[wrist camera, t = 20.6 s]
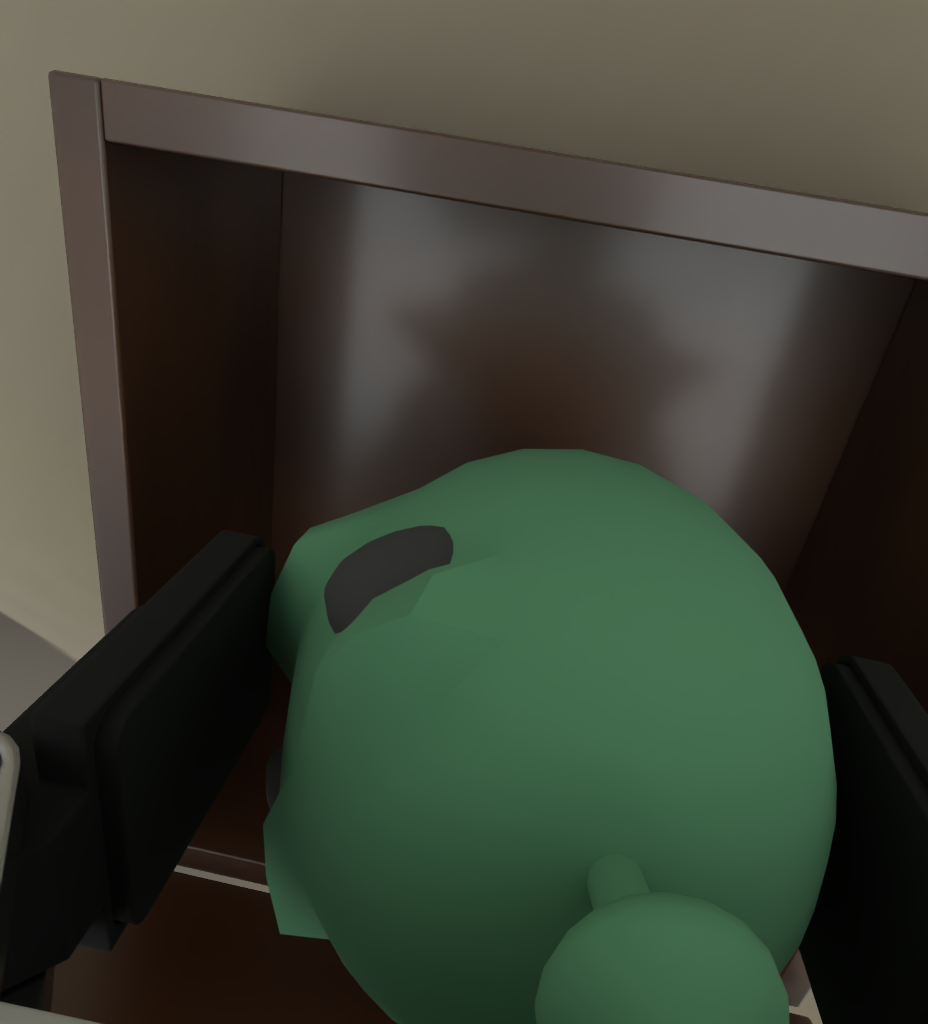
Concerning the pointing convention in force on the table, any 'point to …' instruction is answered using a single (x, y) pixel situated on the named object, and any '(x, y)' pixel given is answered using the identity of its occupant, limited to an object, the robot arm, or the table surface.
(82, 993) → the lid
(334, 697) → the alien toy
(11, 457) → the table surface
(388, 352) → the chest
